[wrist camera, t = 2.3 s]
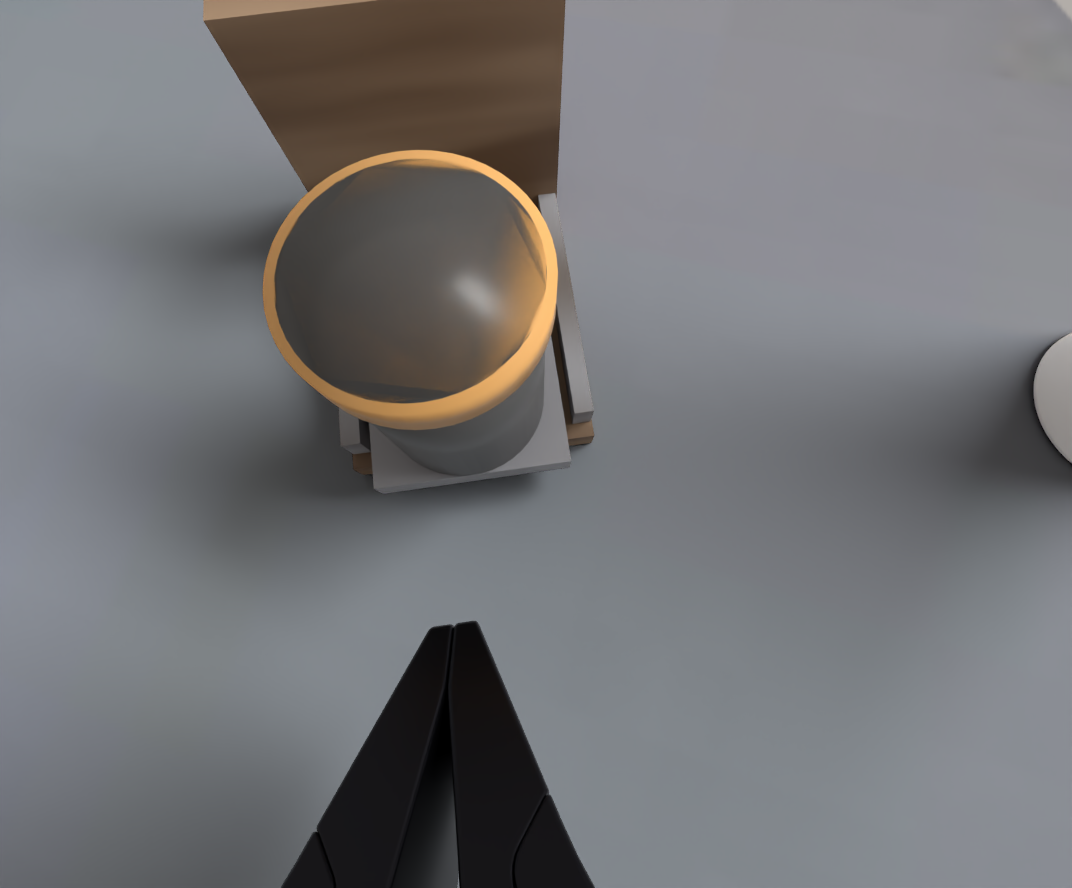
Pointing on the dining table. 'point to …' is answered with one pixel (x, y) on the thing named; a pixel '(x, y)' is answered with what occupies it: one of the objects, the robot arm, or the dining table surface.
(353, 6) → the mount
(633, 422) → the dining table surface
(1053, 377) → the cosmetic bottle
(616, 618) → the dining table surface
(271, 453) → the dining table surface
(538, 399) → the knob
